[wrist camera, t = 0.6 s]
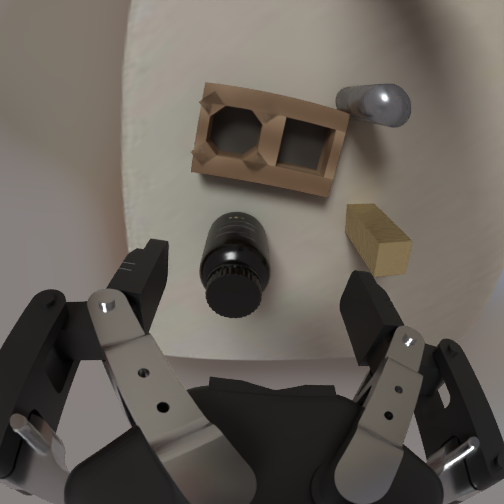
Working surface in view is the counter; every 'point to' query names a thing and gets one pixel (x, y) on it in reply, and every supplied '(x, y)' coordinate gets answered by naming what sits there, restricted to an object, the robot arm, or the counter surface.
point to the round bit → (375, 104)
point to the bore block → (268, 139)
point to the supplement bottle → (235, 265)
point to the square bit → (377, 240)
